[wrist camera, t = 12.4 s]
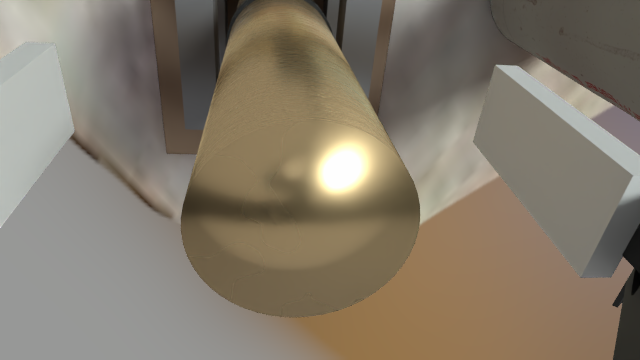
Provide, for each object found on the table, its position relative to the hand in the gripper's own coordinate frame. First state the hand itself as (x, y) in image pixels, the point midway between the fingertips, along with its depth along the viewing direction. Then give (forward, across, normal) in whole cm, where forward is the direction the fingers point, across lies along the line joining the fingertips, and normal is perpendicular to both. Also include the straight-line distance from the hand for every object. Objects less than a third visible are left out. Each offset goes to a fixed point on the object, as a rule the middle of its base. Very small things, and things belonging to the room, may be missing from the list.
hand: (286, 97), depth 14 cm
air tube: (+14, 0, 0) cm, 15 cm away
